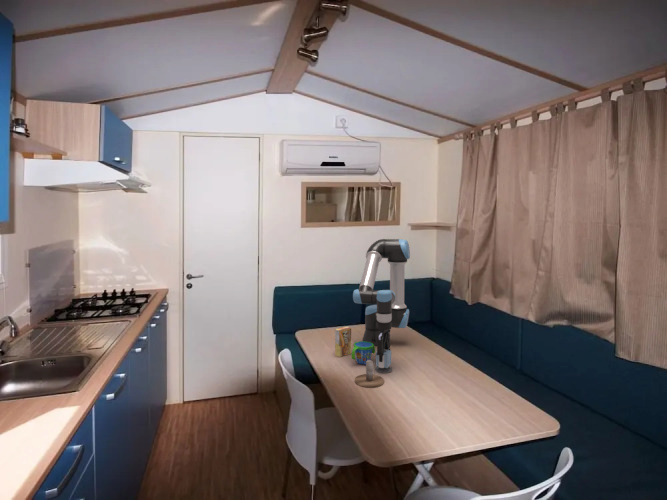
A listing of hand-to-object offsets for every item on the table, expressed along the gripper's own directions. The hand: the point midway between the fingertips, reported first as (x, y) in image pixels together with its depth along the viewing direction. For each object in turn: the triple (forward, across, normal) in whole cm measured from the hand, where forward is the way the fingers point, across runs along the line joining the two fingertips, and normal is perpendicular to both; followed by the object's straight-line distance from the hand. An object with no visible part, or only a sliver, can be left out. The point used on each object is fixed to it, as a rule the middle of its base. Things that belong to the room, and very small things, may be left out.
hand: (383, 365), depth 204 cm
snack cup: (+3, -5, -13) cm, 14 cm away
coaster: (+3, 0, 0) cm, 3 cm away
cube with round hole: (0, 0, 0) cm, 0 cm away
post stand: (+3, +16, -2) cm, 17 cm away
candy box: (+3, -12, -28) cm, 30 cm away
